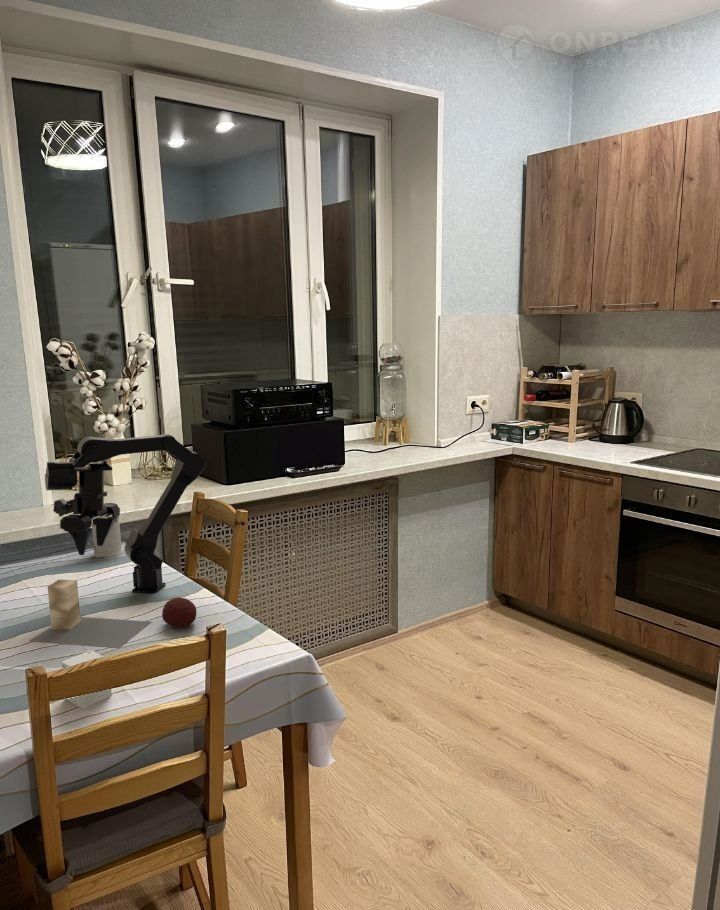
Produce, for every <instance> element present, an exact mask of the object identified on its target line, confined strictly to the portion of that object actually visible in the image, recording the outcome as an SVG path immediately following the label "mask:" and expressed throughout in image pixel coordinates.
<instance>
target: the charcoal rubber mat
mask: <svg viewBox="0 0 720 910" xmlns="http://www.w3.org/2000/svg"><path fill="white" fill-rule="evenodd" d="M80 618H81V622H80V623H78V624H77V625H76V626H75V627H73V628H72V629H71V630H65V629H52V628H51V626H50V627H48V628H47V629H45V630H44V631H42V632H41V633H39V634H38V635H36V636H35V637H33V638H32V639H30V640H29V642H33V643H47V644H60V645H73V646H87V647H95V648H96V647H98V648H111V649H112V648H113V649H121V648H122V647H123V646H125V645H126V644H127V643H128V642H129V641H130V640H132V639H133V638H134V637H135V636H137V635H138V634H139V633H140V632H142V631H143V630H145V628H146V627H147V626H149V625H150V624H151V623H152V621H147V620H131V619H118V618H105V617H104V618H101V617H90V616H89V617H87V616H80Z"/></svg>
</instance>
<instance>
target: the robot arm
mask: <svg viewBox="0 0 720 910" xmlns="http://www.w3.org/2000/svg"><path fill="white" fill-rule="evenodd" d="M159 451H165V452H166V453H167V454H168V456H170V457H171V458H172V459H174V460H175V463H174V466H173V470H172V474H171V479H170V481H169V482H168V484H167V486H166V487H165V488H164V490H163V492H162V494H161V495H160V496H159V499H158V501H157V502H156V504H155V505H154V507H153V509H152V510H151V513H150V514H149V515H148V518H147V519H146V521H145V523H144V525H142V526H141V527H140V528H139V529H138V530H137V529H135V528H132V529H131V531H130V533H129V536H128V537H127V538H126V539H125V540H124V543H125V544H124V550H123V551H124V553H125V555H126V556H127V558H128V559H129V560H130V561H131V562H132V563H133V564H135V566H134V567H133V572H132V582H133V583H132V584H133V588H132V589H131V591H132V592H133V593H135V592H136V593H149V594H154V593H157V592H159V590H161V589H162V588H163V587H165V586H166V585H167V583H166V582H163V569H162V565H163V560H162V559H161V558H160V557H159V556H158V555H157V554H156V553H155V551H156V549H157V545H158V541H159V540H158V539H159V535H160V533H161V532H162V530H163V528H164V526H165V525H166V523H167V521H168V519H169V518H170V516H171V514H172V512H173V511H174V509H175V507H176V506H177V505H178V503H179V501H180V499H181V498H182V495H183V494H184V492H185V490H186V489H187V487H189V486H190V485H191V484H192V483H194V482H195V481H196V480H197V479H198V477H200V475H201V474H202V473H203V471H205V468H206V460H205V458H204V456H203V455H201V454H200V453H197V452H195V451H192V450H190V449H188V447H186V446H185V445H183V444H182V443H181V442H179V441H178V440H177V439H176V438H175V437H174V436H172V435H170V434H167V433H161V434H160V435H158V434H157V435H149V436H138V437H125V438H117V439H116V438H107V437H100V436H99V437H97V436H85V437H83V438H82V439H81V440H80V441H79V442H78V444H77V449H76V451H75V452H74V454H73V455H72V457H70V459H69V460H68V461H63V462H58V461H57V462H56V461H46V468H45V474H44V484H45V486H44V487H45V490H46V491H64V490H73V487H76V485H77V484H78V492H76V493H74V495H73V497H74V498H73V499H70V500H67V501H66V499H64V498H60V499H57V500H54V502H53V510H52V511H53V512H54V513H55V514H57V515H58V518H59V517H62V518H61V519H60V520H59V528H60V529H61V530H63V532H67V533H68V534H70V535H71V537H72V539H73V542H74V544H75V547H76V549H77V552H78V555H79V556H85V552H86V550H87V547H88V543H89V540H90V537H91V533H92V532H93V529H92V527H91V525H92V523H93V522H94V523H95V524H96V532H97V541H98V545H99V546H103V544H104V542H105V540H106V538H107V536H108V534H109V532H110V530H111V528H112V526H113V524H114V522H115V521H116V520H117V516H119V517H120V516H121V508H120V506H118V504H117V505H115V504H116V503H115V504H104V503H105V502H104V500H105V497H108V492H107V491H104V489H105V488H104V486H105V483H104V482H105V481H104V479H105V473H104V472H107V471H109V472H110V471H112V470H113V467H112V466H110V464H108V462H107V460H109V459H112V458H114V457H117V456H122V455H131V454H140V453H148V452H149V453H150V452H151V453H153V452H159ZM78 514H80V515H78ZM64 515H65V516H64ZM112 516H113V517H112ZM92 521H93V522H92Z"/></svg>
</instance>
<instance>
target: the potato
mask: <svg viewBox="0 0 720 910" xmlns="http://www.w3.org/2000/svg"><path fill="white" fill-rule="evenodd" d="M196 607H197V606H196V605H195V604H194V603H193V602H192V601H191V600H189V599H188V598H185V597H180V596H179V597H178V596H177V597H173V598H171V599H168V601H166V603H165V604H164V605H163V608H162V613H161V614H162V620H163V621H164V623H166V624H167V625H168V626H171V627H172V628H173V627H174V628H178V629H180V628H182V629H183V628H188V627H189V626H191V625H192V624H194V622H195V621H196V618H197V608H196Z"/></svg>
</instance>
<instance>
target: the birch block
mask: <svg viewBox="0 0 720 910" xmlns="http://www.w3.org/2000/svg"><path fill="white" fill-rule="evenodd" d="M47 595H48V596H47V597H48V605H49V606H48V607H49V615H50V616H49V617H50V627H51V628H52V629H65V630H71V629H72V628H73V627H75V626H76V625H77V624H78V623H80V622H81V618H80V617H81V608H80V598H79V587H78V580H77V579H57V580H55V581H54V582H53V583H50V584H49V585H48V586H47Z"/></svg>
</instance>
